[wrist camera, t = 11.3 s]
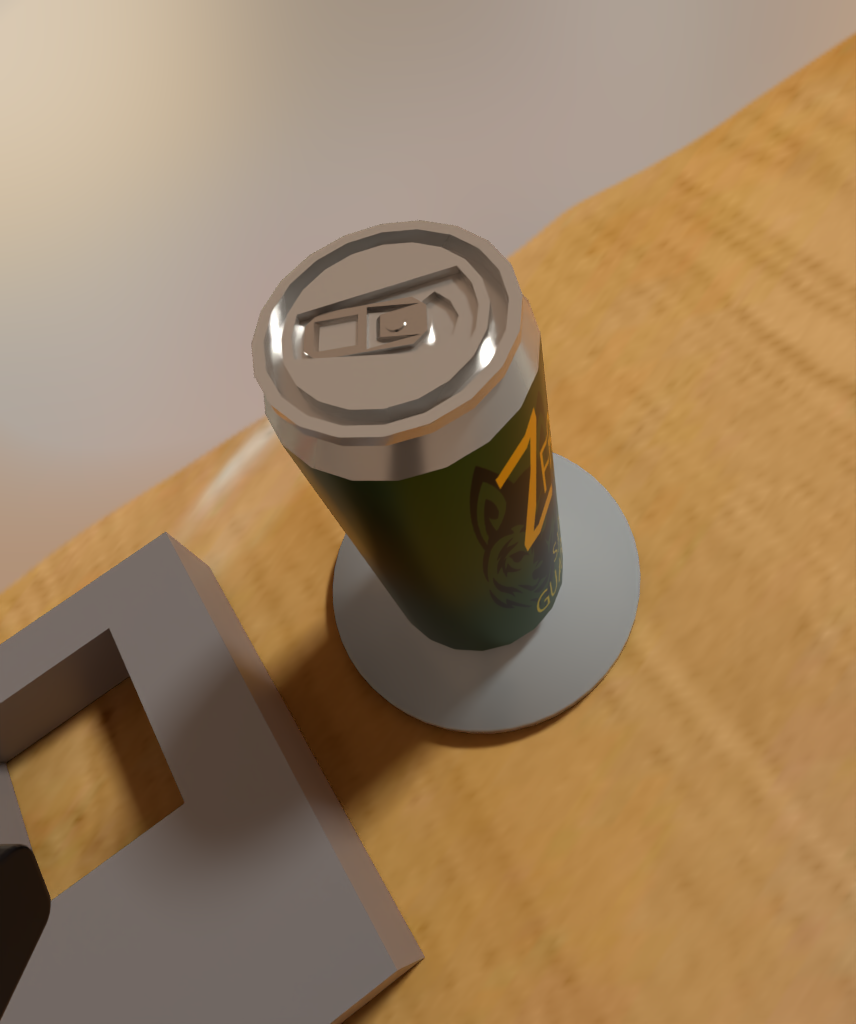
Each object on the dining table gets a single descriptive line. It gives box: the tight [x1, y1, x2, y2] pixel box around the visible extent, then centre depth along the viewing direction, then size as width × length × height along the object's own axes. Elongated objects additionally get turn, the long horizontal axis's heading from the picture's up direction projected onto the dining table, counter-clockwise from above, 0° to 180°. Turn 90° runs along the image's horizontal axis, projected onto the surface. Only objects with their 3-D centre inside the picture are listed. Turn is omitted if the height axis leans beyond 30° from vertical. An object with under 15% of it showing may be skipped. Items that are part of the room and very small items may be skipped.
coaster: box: [333, 452, 640, 734], centre depth 23 cm, size 10×10×1 cm
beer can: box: [252, 220, 563, 651], centre depth 18 cm, size 5×5×12 cm
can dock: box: [0, 532, 424, 1024], centre depth 20 cm, size 14×12×3 cm
